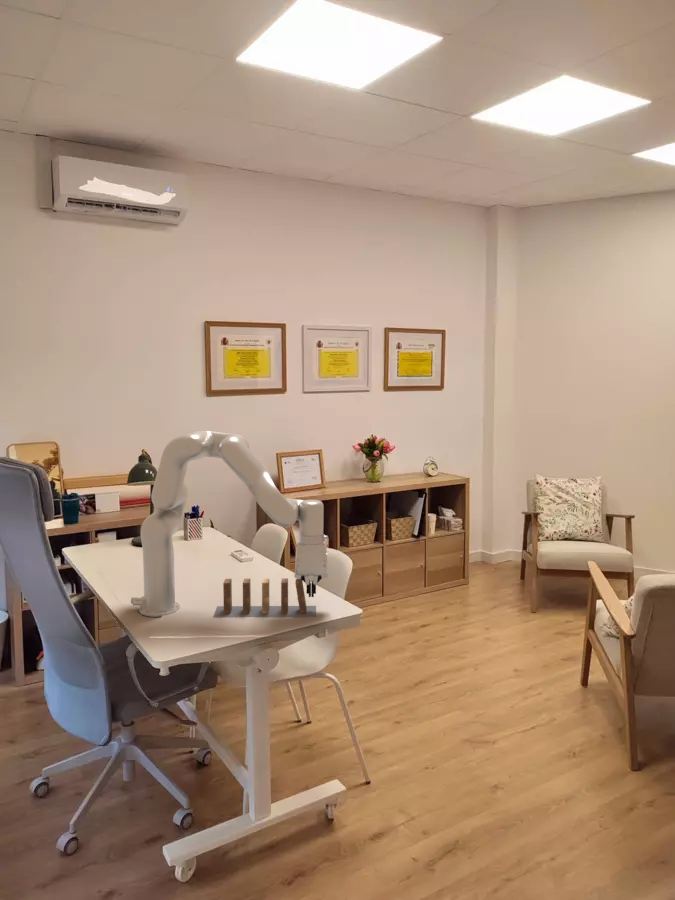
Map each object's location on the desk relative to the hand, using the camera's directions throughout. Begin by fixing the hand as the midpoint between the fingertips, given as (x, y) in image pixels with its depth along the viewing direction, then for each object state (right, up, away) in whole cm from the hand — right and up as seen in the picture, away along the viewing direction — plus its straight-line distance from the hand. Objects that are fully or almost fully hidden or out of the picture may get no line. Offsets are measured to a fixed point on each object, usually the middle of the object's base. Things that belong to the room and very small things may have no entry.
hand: (311, 595), depth 219 cm
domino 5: (-2, -5, 0) cm, 5 cm away
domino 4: (-8, -5, 0) cm, 10 cm away
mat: (-14, -5, 0) cm, 15 cm away
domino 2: (-20, -5, 0) cm, 21 cm away
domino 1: (-26, -5, 0) cm, 27 cm away
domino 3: (-14, -5, 0) cm, 15 cm away
